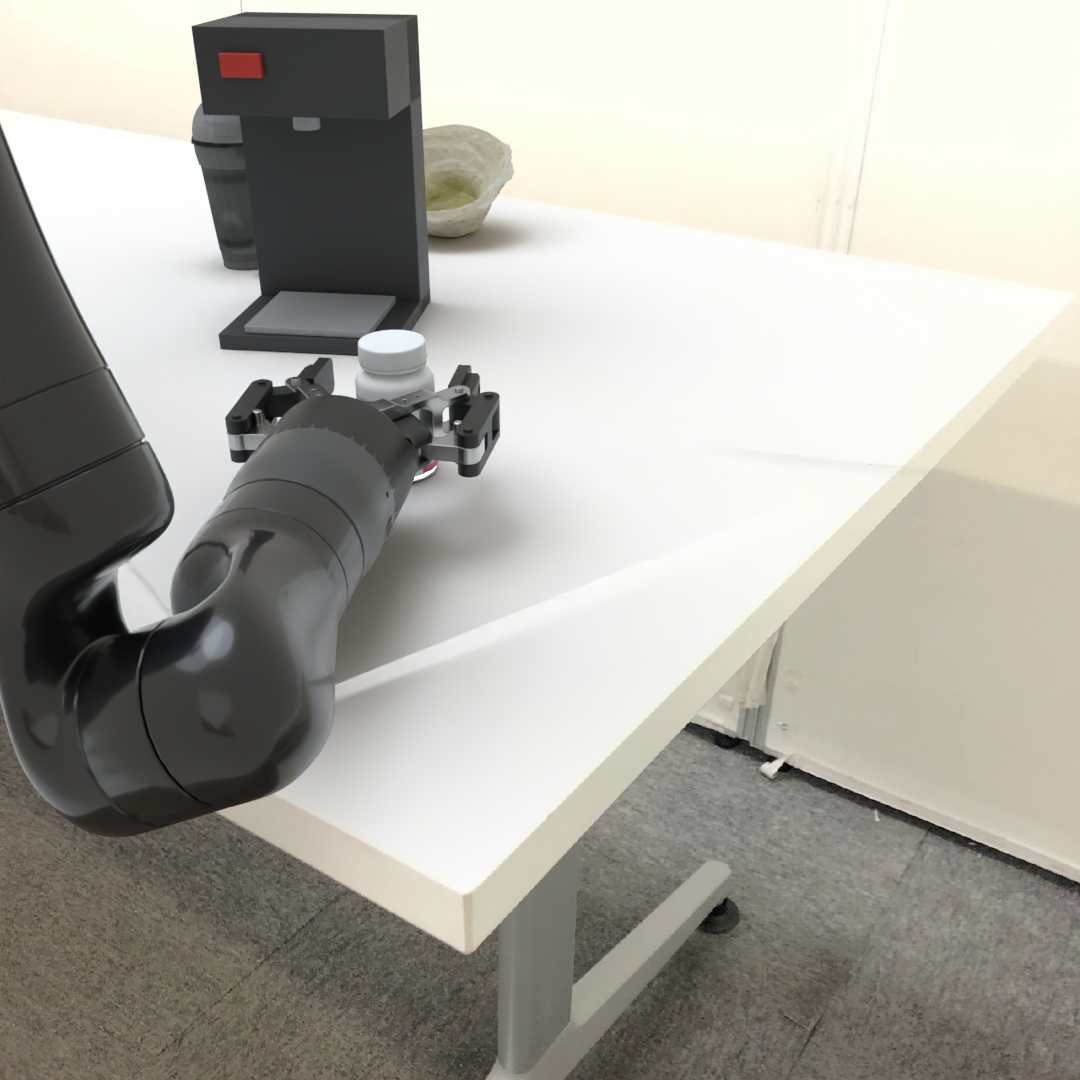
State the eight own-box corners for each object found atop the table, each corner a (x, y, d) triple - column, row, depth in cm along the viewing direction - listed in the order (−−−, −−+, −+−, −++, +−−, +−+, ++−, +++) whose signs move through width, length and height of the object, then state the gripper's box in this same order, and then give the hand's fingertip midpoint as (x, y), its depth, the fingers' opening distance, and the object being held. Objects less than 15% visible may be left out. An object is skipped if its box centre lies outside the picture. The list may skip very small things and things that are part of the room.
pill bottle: (414, 446, 73) (406, 321, 69) (453, 472, 70) (448, 343, 66) (348, 464, 71) (337, 336, 66) (386, 493, 67) (376, 360, 63)
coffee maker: (430, 300, 99) (417, 14, 88) (393, 357, 87) (372, 33, 76) (277, 294, 101) (244, 11, 89) (220, 348, 89) (173, 30, 77)
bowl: (354, 247, 114) (346, 144, 109) (401, 214, 126) (395, 120, 121) (496, 257, 111) (494, 152, 106) (530, 222, 123) (530, 126, 118)
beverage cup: (232, 278, 105) (200, 45, 95) (195, 262, 109) (161, 38, 99) (300, 263, 109) (276, 39, 99) (261, 248, 113) (235, 32, 103)
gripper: (460, 438, 51) (512, 321, 65) (162, 421, 53) (275, 310, 67) (465, 578, 55) (513, 439, 69) (187, 558, 57) (288, 426, 70)
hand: (396, 375), depth 68 cm, fingers open, 8 cm apart
